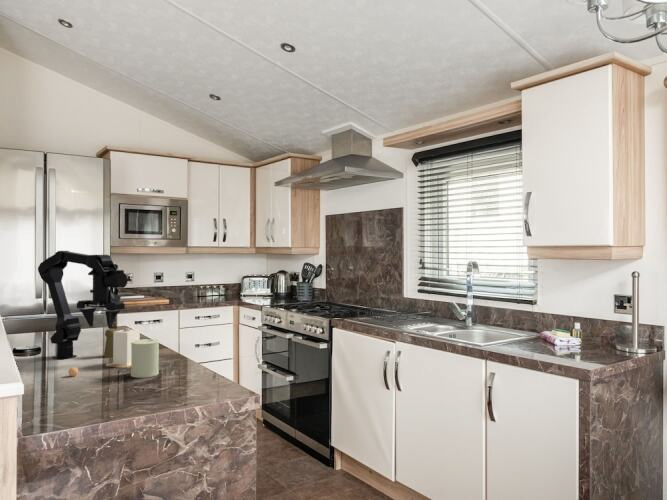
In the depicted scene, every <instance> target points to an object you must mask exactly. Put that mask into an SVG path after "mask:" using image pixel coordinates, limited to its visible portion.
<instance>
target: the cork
mask: <svg viewBox="0 0 667 500" xmlns="http://www.w3.org/2000/svg"><path fill="white" fill-rule="evenodd" d="M114 331H119V329H117V328H108V329H106V330H105V333H104V336H105V337H106V339H105V345H104V353H103V358H107V359H109V358H110V359H112V358H113V332H114Z"/></svg>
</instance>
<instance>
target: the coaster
mask: <svg viewBox="0 0 667 500" xmlns="http://www.w3.org/2000/svg"><path fill="white" fill-rule="evenodd" d="M105 367H111V368H119V369H130V368H131V364H130V365H119V364H113V362H110V363H106V364H105Z"/></svg>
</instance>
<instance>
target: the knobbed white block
mask: <svg viewBox="0 0 667 500" xmlns="http://www.w3.org/2000/svg"><path fill="white" fill-rule="evenodd" d="M118 330H119V329H118ZM140 333H141V330H139V329H130V327H124V328H123V329H121V330H119V331H114V332H113V359H112V363H113V364H119V365H130V364H131V342H132V341H135V340H141V337H140V336H141V334H140Z"/></svg>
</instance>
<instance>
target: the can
mask: <svg viewBox="0 0 667 500" xmlns="http://www.w3.org/2000/svg"><path fill="white" fill-rule="evenodd" d="M159 344H160V341H159V340H158V339H154V338H153V339H152V338H147V339H145V338H142V339H140V340H135V341H132V342H131V370H130V376H131V377H132V378H137V379H138V378H139V379H140V378H142V379H143V378H152V377H156V376H158V375H159V374H160V372H159V371H160V370H159V357H160V356H159V355H160V354H159V353H160V351H159V346H160V345H159Z"/></svg>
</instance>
